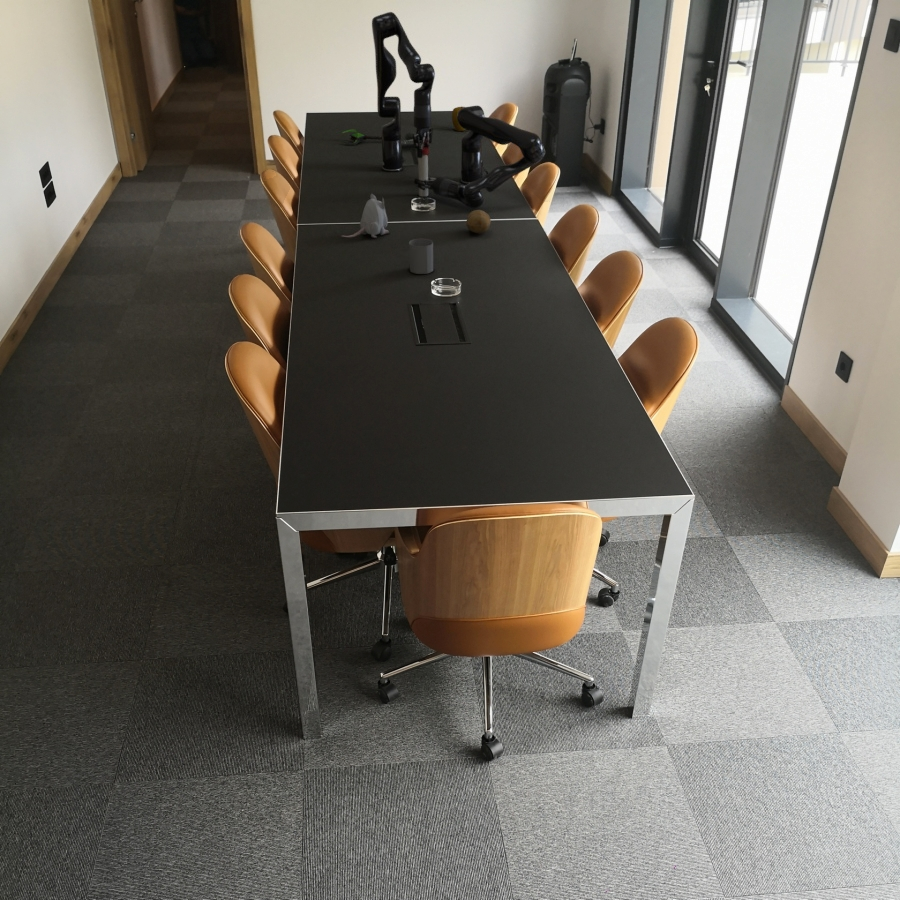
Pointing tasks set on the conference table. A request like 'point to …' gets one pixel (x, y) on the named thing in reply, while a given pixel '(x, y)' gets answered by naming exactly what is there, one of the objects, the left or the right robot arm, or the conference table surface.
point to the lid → (425, 151)
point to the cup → (421, 256)
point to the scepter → (359, 137)
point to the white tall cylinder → (423, 173)
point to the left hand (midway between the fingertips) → (423, 156)
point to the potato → (478, 221)
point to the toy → (373, 218)
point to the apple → (454, 119)
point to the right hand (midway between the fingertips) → (419, 179)
